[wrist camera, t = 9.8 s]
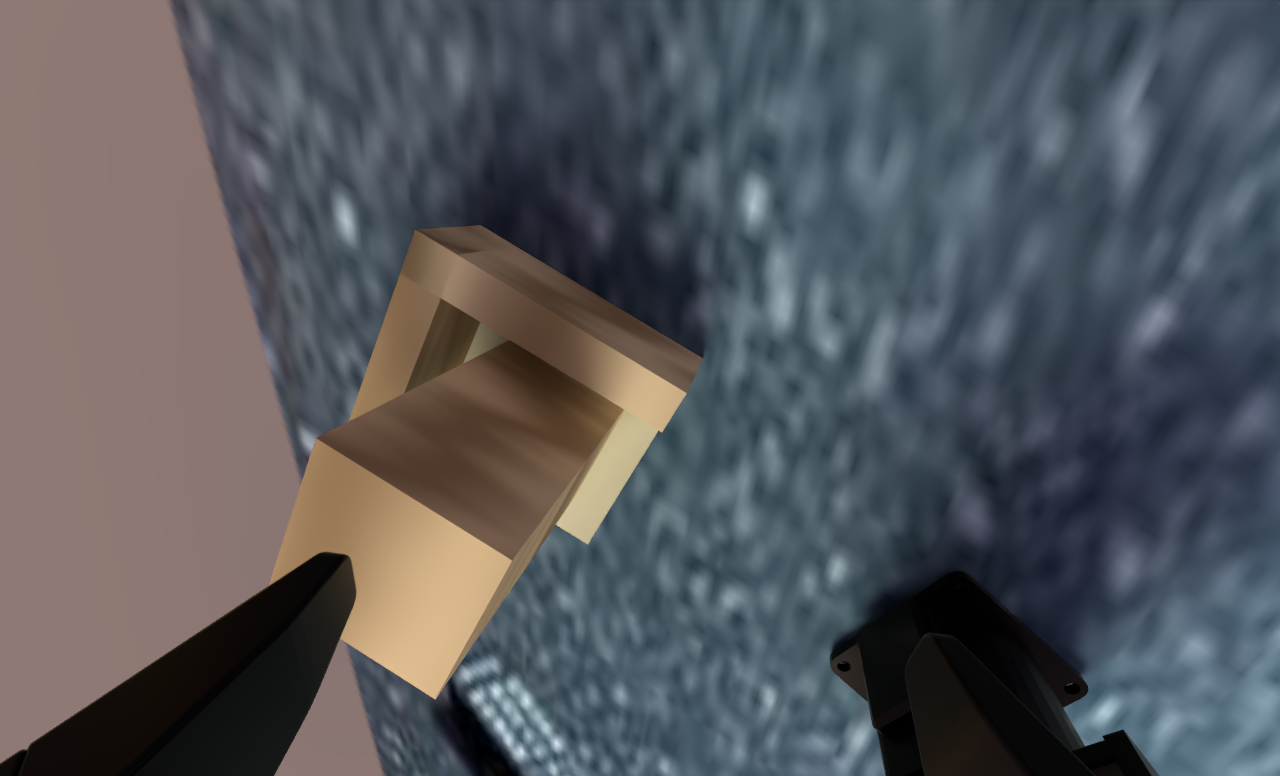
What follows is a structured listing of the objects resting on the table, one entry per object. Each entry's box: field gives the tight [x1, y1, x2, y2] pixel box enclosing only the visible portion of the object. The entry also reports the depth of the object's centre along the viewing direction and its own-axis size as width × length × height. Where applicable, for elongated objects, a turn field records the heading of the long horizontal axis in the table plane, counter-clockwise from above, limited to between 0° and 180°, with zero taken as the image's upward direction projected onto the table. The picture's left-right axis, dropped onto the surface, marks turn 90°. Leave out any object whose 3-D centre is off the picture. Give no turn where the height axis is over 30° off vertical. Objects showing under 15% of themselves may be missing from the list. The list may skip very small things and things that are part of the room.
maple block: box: [269, 340, 624, 699], centre depth 17 cm, size 5×5×10 cm
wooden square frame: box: [349, 225, 703, 544], centre depth 20 cm, size 10×10×4 cm
